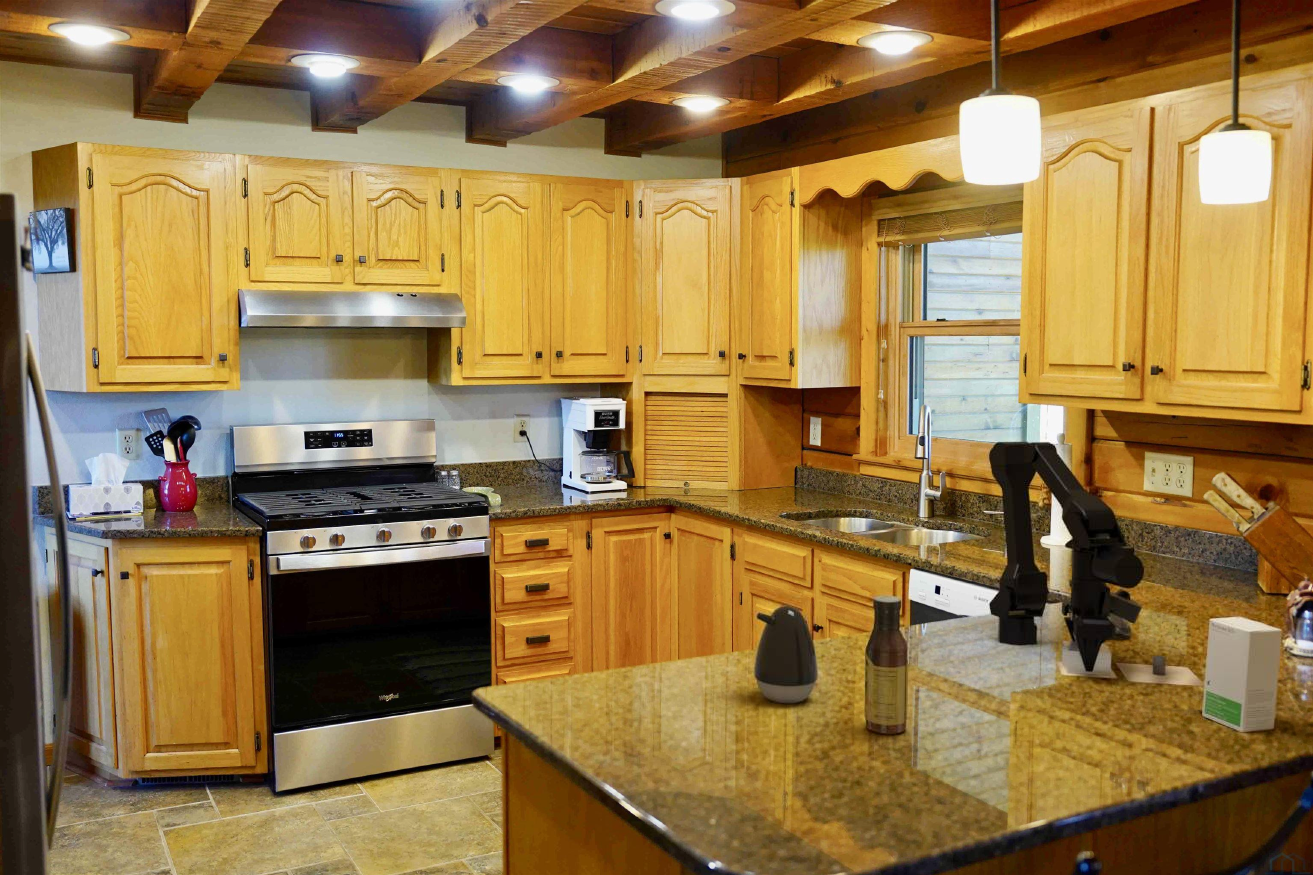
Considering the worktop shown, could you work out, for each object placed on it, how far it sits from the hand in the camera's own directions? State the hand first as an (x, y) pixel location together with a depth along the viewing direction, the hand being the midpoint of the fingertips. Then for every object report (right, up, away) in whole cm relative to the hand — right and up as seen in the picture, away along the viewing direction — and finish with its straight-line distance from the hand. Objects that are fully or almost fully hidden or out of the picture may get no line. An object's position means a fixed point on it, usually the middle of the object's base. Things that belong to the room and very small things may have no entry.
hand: (1085, 665), depth 203 cm
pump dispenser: (-54, -3, -15) cm, 56 cm away
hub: (+12, -2, -2) cm, 12 cm away
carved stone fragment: (+15, 0, +31) cm, 34 cm away
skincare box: (+14, -4, -25) cm, 29 cm away
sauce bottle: (-41, -4, -30) cm, 51 cm away
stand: (0, -2, 0) cm, 2 cm away
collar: (0, -1, 0) cm, 1 cm away
